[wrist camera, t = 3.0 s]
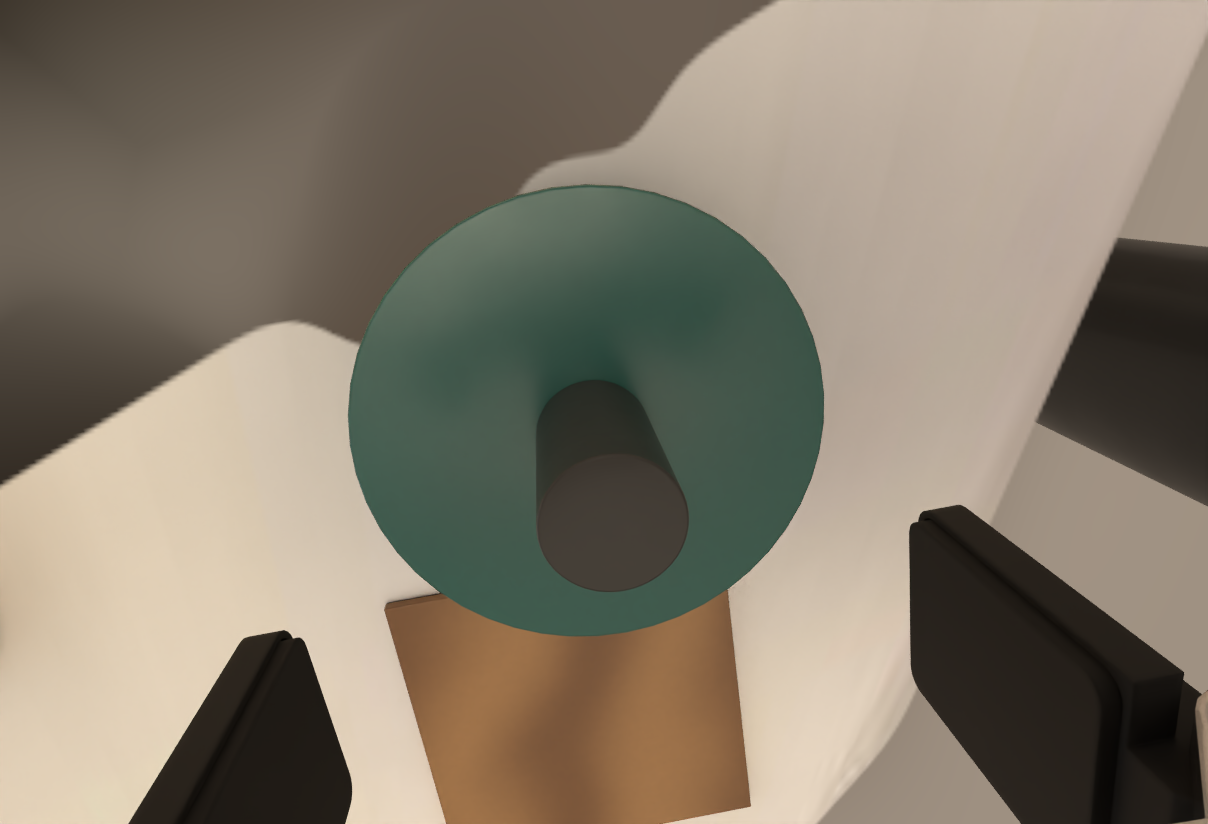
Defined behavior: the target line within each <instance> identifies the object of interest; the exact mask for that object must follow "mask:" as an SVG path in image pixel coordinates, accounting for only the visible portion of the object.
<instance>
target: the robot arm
mask: <svg viewBox="0 0 1208 824" xmlns="http://www.w3.org/2000/svg"><path fill="white" fill-rule="evenodd" d="M909 553H910V644H911V670H912V675H913V678H914V681H915V683H916V685H917V687H918V689H919V690H920V692H921V693H922V694H923V696H924V697H925V698H926V700H927V701H928V702H929V703H930V705H931V706H932V707H933V709H934V710H935V711H936V713H937V714H938V715H939V717H940V718H941V719H942V721H943V722H944V723H945V725H946V726H947V727H948V728H949V730H950V731H951V732H952V734H953V735H954V736H955V738H956V739H957V740H958V741H959V743H960V744H961V745H962V747H963V748H964V749H965V751H966V752H967V753H968V755H969V756H970V757H971V758H972V760H973V761H974V762H975V764H976V765H977V766H978V768H979V769H980V770H981V772H982V773H983V774H984V775H985V777H986V778H987V779H988V781H989V782H990V783H991V785H992V786H993V787H994V789H995V790H996V791H997V793H998V794H999V795H1000V797H1001V798H1002V799H1003V800H1004V802H1005V803H1006V804H1007V806H1008V807H1009V808H1010V810H1011V811H1012V812H1013V814H1014V815H1015V816H1016V818H1017V819H1018V820H1019V821H1020V823H1021V824H1208V690H1207V691H1206V692H1205V693H1203V694H1201V693H1199V692H1198V691H1197V690H1196V689H1194V688H1193V687H1192V686H1190V685H1189V684H1188V683H1186V682H1185V681H1184V680H1183V677H1184V672H1183V671H1182V670H1180V669H1179V668H1178V667H1176V666H1175V665H1174V664H1172V663H1171V662H1170V661H1168V660H1167V659H1166V658H1164V657H1163V656H1162V655H1161V654H1159V653H1158V652H1157V651H1155V650H1154V649H1153V648H1151V647H1150V646H1149V645H1147V644H1146V643H1145V642H1143V641H1142V640H1141V639H1139V638H1138V637H1137V636H1135V635H1134V634H1133V633H1131V632H1130V631H1129V630H1127V629H1126V628H1125V627H1123V626H1122V625H1121V624H1119V623H1118V622H1117V621H1115V620H1114V619H1113V618H1111V617H1110V616H1109V615H1108V614H1106V613H1105V612H1104V611H1102V610H1101V609H1099V608H1098V607H1097V606H1096V605H1094V604H1093V603H1091V602H1090V601H1089V600H1088V599H1086V598H1085V597H1084V596H1082V595H1081V594H1080V593H1078V592H1077V591H1076V590H1074V589H1073V588H1072V587H1070V586H1069V585H1068V584H1066V583H1065V582H1064V581H1062V580H1061V579H1060V578H1058V577H1057V576H1056V575H1054V574H1053V573H1052V572H1051V571H1049V570H1048V569H1046V568H1045V567H1044V566H1043V565H1041V564H1040V563H1038V562H1037V561H1036V560H1035V559H1033V558H1032V557H1031V556H1029V555H1028V554H1027V553H1025V552H1024V551H1023V550H1021V549H1020V548H1019V547H1017V546H1016V545H1015V544H1013V543H1012V542H1011V541H1009V540H1008V539H1007V538H1005V537H1004V536H1003V535H1001V534H1000V533H998V531H996V530H995V529H994V528H992V527H991V526H990V525H988V524H987V523H986V522H984V521H983V520H982V519H980V518H979V517H978V516H976V515H975V514H974V513H972V512H971V511H970V510H968V509H967V508H966V507H964V506H962V505H955V506H950V507H944V508H939V509H933V510H928V511H923V512H922V513H921V514H920V517H919V520H918V522H915V523H913V524H911V526H910V531H909ZM351 800H352V782H351V777H350V773H349V770H348V767H347V764H346V761H345V759H344V756H343V753H342V750H341V747H340V744H339V741H338V738H337V735H336V732H335V729H334V726H333V723H332V720H331V717H330V714H329V712H328V709H327V706H326V703H325V700H324V697H323V694H322V691H321V688H320V685H319V682H318V679H317V676H316V673H315V670H314V667H313V664H312V662H311V659H310V656H309V653H308V650H307V647H306V645H305V642H304V641H303V640H302V639H301V638H294V639H293V638H292V636H291V635H290V634H289V632H287V631H285V630H283V631H278V632H272V633H267V634H261V635H256V636H251V637H247V638H244V639H243V640H242V641H241V642H240V644H239V645H238V647H237V648H236V650H235V652H234V653H233V655H232V657H231V658H230V660H229V661H228V663H227V665H226V666H225V668H224V670H223V671H222V673H221V674H220V676H219V678H218V679H217V681H216V683H215V684H214V686H213V687H212V689H211V691H210V692H209V694H208V696H207V697H206V699H205V700H204V702H203V704H202V705H201V707H200V709H199V710H198V712H197V713H196V715H195V717H194V718H193V720H192V721H191V723H190V725H189V726H188V728H187V730H186V731H185V733H184V734H183V736H182V738H181V739H180V741H179V743H178V744H177V746H176V747H175V749H174V751H173V752H172V754H171V756H170V757H169V759H168V760H167V762H166V764H165V765H164V767H163V769H162V770H161V772H160V773H159V775H158V777H157V778H156V780H155V782H154V783H153V785H152V786H151V788H150V790H149V791H148V793H147V795H146V796H145V798H144V799H143V801H142V803H141V804H140V806H139V807H138V809H137V811H136V812H135V814H134V816H133V817H132V819H131V820H130V822H129V824H345V822H346V819H347V815H348V812H349V808H350V805H351Z"/></svg>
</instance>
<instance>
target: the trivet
mask: <svg viewBox="0 0 1208 824" xmlns="http://www.w3.org/2000/svg"><path fill="white" fill-rule="evenodd" d="M384 611H385V614H386V617H387V621H388V624H389V628H390V631H391V635H392V638H393V641H394V645H395V648H396V652H397V655H398V659H399V662H400V666H401V669H402V672H403V676H404V679H405V683H406V686H407V690H408V693H409V697H410V700H411V703H412V707H413V710H414V714H415V717H416V721H417V724H418V728H419V731H420V734H421V738H422V741H423V745H424V748H425V752H426V755H427V758H428V762H429V765H430V769H431V772H432V776H433V779H434V783H435V786H436V789H437V793H438V796H439V800H440V803H441V807H442V810H443V814H444V817H445V820H446V824H663V823H669V822H674V821H679V820H684V819H689V818H694V817H699V816H705V815H710V814H715V813H720V812H725V811H730V810H736V809H741V808H746V807H750V806H751V803H750V794H749V784H748V775H747V766H746V757H745V747H744V738H743V729H742V720H741V710H740V701H739V692H738V683H737V673H736V664H735V655H734V646H733V636H732V627H731V618H730V609H729V599H728V590H726V591H724V592H722V593H721V594H719V595H718V596H716V597H715V598H713V599H712V600H710V601H708V602H707V603H705V604H704V605H702V606H700V607H698V608H696V609H693V610H691V611H689V612H687V613H685V614H683V615H681V616H679V617H677V618H674V619H671V620H668V621H666V622H663V623H660V624H657V625H655V626H651V627H647V628H643V629H639V630H634V631H630V632H626V633H619V634H611V635H603V636H571V637H570V636H560V635H550V634H541V633H536V632H531V631H527V630H522V629H518V628H513V627H511V626H508V625H505V624H502V623H499V622H496V621H493V620H490V619H487V618H485V617H483V616H481V615H479V614H477V613H475V612H473V611H471V610H468V609H466V608H464V607H462V606H461V605H459V604H458V603H456V602H454V601H453V600H451V599H450V598H448V597H447V596H445V595H443V594H437V595H432V596H426V597H420V598H415V599H409V600H404V601H398V602H393V603H387V604H386V606H385V609H384Z"/></svg>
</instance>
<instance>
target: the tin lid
mask: <svg viewBox="0 0 1208 824" xmlns="http://www.w3.org/2000/svg"><path fill="white" fill-rule="evenodd" d="M348 423H349V439H350V448H351V453H352V457H353V462H354V467H355V472H356V475H357V478H358V481H359V484H360V487H361V489H362V492H363V495H364V498H365V500H366V503H367V505H368V507H369V508H370V510H371V512H372V514H373V516H374V518H375V520H376V522H377V524H378V526H379V527H380V529H381V531H382V532H383V533H384V535H385V536H386V538H387V539H388V540H389V542H390V543H391V545H392V546H393V547H394V549H395V550H396V552H397V553H398V554H399V555H400V556H401V557H402V558H403V559H404V560H405V561H406V562H407V563H408V565H409V566H410V567H411V568H412V569H413V570H414V571H415V572H416V573H417V574H418V575H419V576H421V577H422V578H423V579H424V580H425V581H427V582H428V583H429V584H430V585H431V586H433V587H434V588H435V589H436V590H437V591H439V592H440V593H442V594H443V595H445V596H447V597H448V598H450V599H451V600H453V601H454V602H456V603H458V604H459V605H461V606H462V607H464V608H466V609H468V610H471V611H473V612H475V613H477V614H479V615H481V616H483V617H485V618H487V619H490V620H493V621H496V622H499V623H502V624H505V625H508V626H511V627H513V628H518V629H522V630H527V631H531V632H536V633H541V634H550V635H560V636H570V637H571V636H603V635H611V634H619V633H626V632H630V631H634V630H639V629H643V628H647V627H651V626H655V625H657V624H660V623H663V622H666V621H668V620H671V619H674V618H677V617H679V616H681V615H683V614H685V613H687V612H689V611H691V610H693V609H696V608H698V607H700V606H702V605H704V604H705V603H707V602H708V601H710V600H712V599H713V598H715V597H716V596H718V595H719V594H721V593H722V592H724V591H726V590H727V589H729V588H730V587H731V586H732V585H733V584H735V583H736V582H737V581H738V580H740V579H741V578H742V577H743V576H744V575H746V574H747V573H748V572H749V571H750V570H751V569H752V568H753V567H754V566H755V565H756V564H757V563H758V562H759V561H760V560H761V559H762V558H763V557H764V556H765V555H766V554H767V553H768V552H769V551H770V549H771V548H772V547H773V545H774V544H775V543H776V541H777V540H778V539H779V537H780V536H781V535H782V534H783V532H784V531H785V530H786V528H787V526H788V525H789V523H790V521H791V520H792V518H793V516H794V514H795V513H796V511H797V509H798V508H799V506H800V504H801V502H802V499H803V497H804V495H805V492H806V490H807V488H808V485H809V483H810V481H811V478H812V475H813V471H814V468H815V464H816V461H817V457H818V454H819V450H820V443H821V436H822V430H823V423H824V390H823V382H822V373H821V365H820V361H819V357H818V354H817V350H816V346H815V342H814V339H813V335H812V333H811V331H810V328H809V326H808V323H807V321H806V319H805V316H804V314H803V312H802V309H801V307H800V306H799V304H798V302H797V301H796V299H795V297H794V296H793V294H792V292H791V291H790V289H789V287H788V286H787V284H786V282H785V281H784V280H783V279H782V277H781V276H780V275H779V274H778V272H777V271H776V270H775V269H774V267H773V266H772V265H771V264H770V263H769V261H768V260H767V259H766V258H765V257H764V256H763V255H762V254H761V253H760V252H759V251H758V250H757V249H756V248H754V247H753V246H752V245H751V244H750V243H749V242H748V241H747V240H746V239H745V238H744V237H743V236H741V235H740V234H738V233H737V232H735V231H734V230H733V229H731V228H730V227H728V226H727V225H725V224H724V223H722V222H721V221H720V220H718V219H717V218H715V217H713V216H711V215H709V214H707V213H705V212H703V211H701V210H699V209H697V208H695V207H693V206H691V205H689V204H687V203H684V202H681V201H678V200H675V199H673V198H670V197H667V196H664V195H661V194H658V193H655V192H649V191H644V190H639V189H634V188H628V187H623V186H610V185H589V184H584V185H573V186H561V187H551V188H547V189H543V190H538V191H534V192H530V193H525V194H521V195H517V196H515V197H512V198H510V199H507V200H504V201H502V202H499V203H496V204H494V205H491V206H489V207H486V208H485V209H483V210H481V211H479V212H477V213H476V214H474V215H472V216H470V217H468V218H466V219H464V220H463V221H461V222H459V223H457V224H456V225H454V226H453V227H452V228H450V229H449V230H448V231H446V232H445V233H444V234H442V235H441V236H439V237H438V238H437V239H436V240H434V241H433V242H431V243H430V244H429V245H428V246H427V247H426V248H425V249H424V250H423V251H422V252H421V253H420V254H419V255H418V256H417V257H416V258H415V259H414V260H413V261H412V262H411V263H410V264H408V266H407V267H405V268H404V270H403V271H402V272H401V274H400V275H399V276H398V278H397V279H396V280H395V282H394V283H393V284H392V286H391V287H390V288H389V290H388V291H387V292H386V293H385V295H384V297H383V298H382V300H381V302H380V304H379V306H378V308H377V309H376V311H375V313H374V315H373V317H372V318H371V320H370V322H369V324H368V326H367V329H366V332H365V334H364V337H363V339H362V342H361V345H360V347H359V350H358V353H357V356H356V361H355V365H354V370H353V374H352V379H351V383H350V394H349V407H348Z"/></svg>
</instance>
